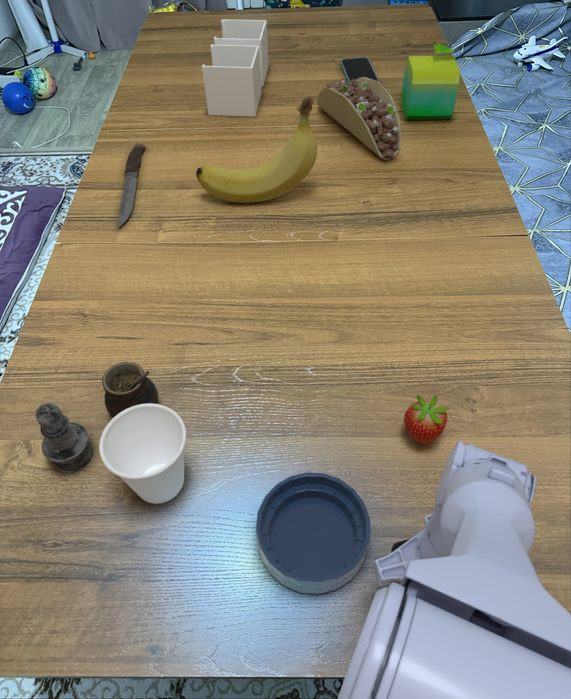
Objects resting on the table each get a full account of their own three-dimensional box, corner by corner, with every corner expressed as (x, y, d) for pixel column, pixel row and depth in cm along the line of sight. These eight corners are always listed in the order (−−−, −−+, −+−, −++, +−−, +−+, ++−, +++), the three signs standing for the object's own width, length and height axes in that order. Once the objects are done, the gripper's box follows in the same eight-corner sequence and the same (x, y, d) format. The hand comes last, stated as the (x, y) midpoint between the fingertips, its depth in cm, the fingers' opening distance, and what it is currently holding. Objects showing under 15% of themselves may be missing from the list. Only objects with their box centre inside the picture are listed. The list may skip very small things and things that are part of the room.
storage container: (255, 116, 132) (252, 68, 124) (208, 114, 133) (202, 66, 125) (268, 66, 148) (266, 20, 139) (226, 65, 149) (221, 19, 140)
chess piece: (75, 428, 80) (45, 376, 71) (104, 450, 78) (78, 399, 68) (41, 459, 77) (6, 409, 68) (70, 483, 75) (38, 435, 65)
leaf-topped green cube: (450, 123, 129) (465, 54, 117) (406, 123, 129) (417, 54, 117) (442, 99, 136) (456, 31, 124) (400, 99, 136) (410, 32, 124)
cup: (194, 519, 71) (180, 478, 63) (114, 519, 71) (89, 478, 63) (202, 448, 77) (190, 402, 69) (129, 448, 78) (108, 402, 69)
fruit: (413, 459, 76) (423, 427, 70) (393, 428, 79) (401, 395, 73) (448, 444, 77) (461, 411, 71) (427, 415, 80) (438, 380, 74)
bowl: (382, 579, 66) (386, 565, 63) (272, 608, 64) (270, 596, 61) (347, 478, 74) (349, 462, 71) (248, 502, 72) (246, 486, 69)
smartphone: (352, 88, 138) (339, 59, 147) (351, 93, 139) (339, 63, 148) (381, 86, 138) (367, 56, 147) (381, 90, 139) (367, 61, 148)
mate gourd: (116, 389, 84) (98, 345, 76) (168, 390, 84) (154, 346, 76) (105, 432, 79) (84, 390, 72) (159, 433, 79) (144, 390, 71)
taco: (372, 168, 118) (377, 121, 110) (306, 110, 133) (306, 66, 126) (410, 154, 121) (418, 108, 113) (341, 99, 136) (343, 55, 128)
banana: (199, 209, 111) (183, 110, 95) (200, 191, 114) (185, 93, 99) (317, 204, 111) (320, 104, 95) (314, 186, 115) (317, 87, 99)
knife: (133, 229, 107) (131, 223, 106) (114, 230, 107) (112, 224, 106) (146, 147, 125) (145, 141, 124) (130, 147, 125) (129, 142, 124)
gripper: (511, 476, 56) (477, 531, 66) (368, 511, 54) (357, 562, 64) (549, 546, 51) (506, 593, 62) (396, 587, 49) (378, 629, 60)
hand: (432, 582), depth 63 cm, fingers closed on sponge, 4 cm apart
